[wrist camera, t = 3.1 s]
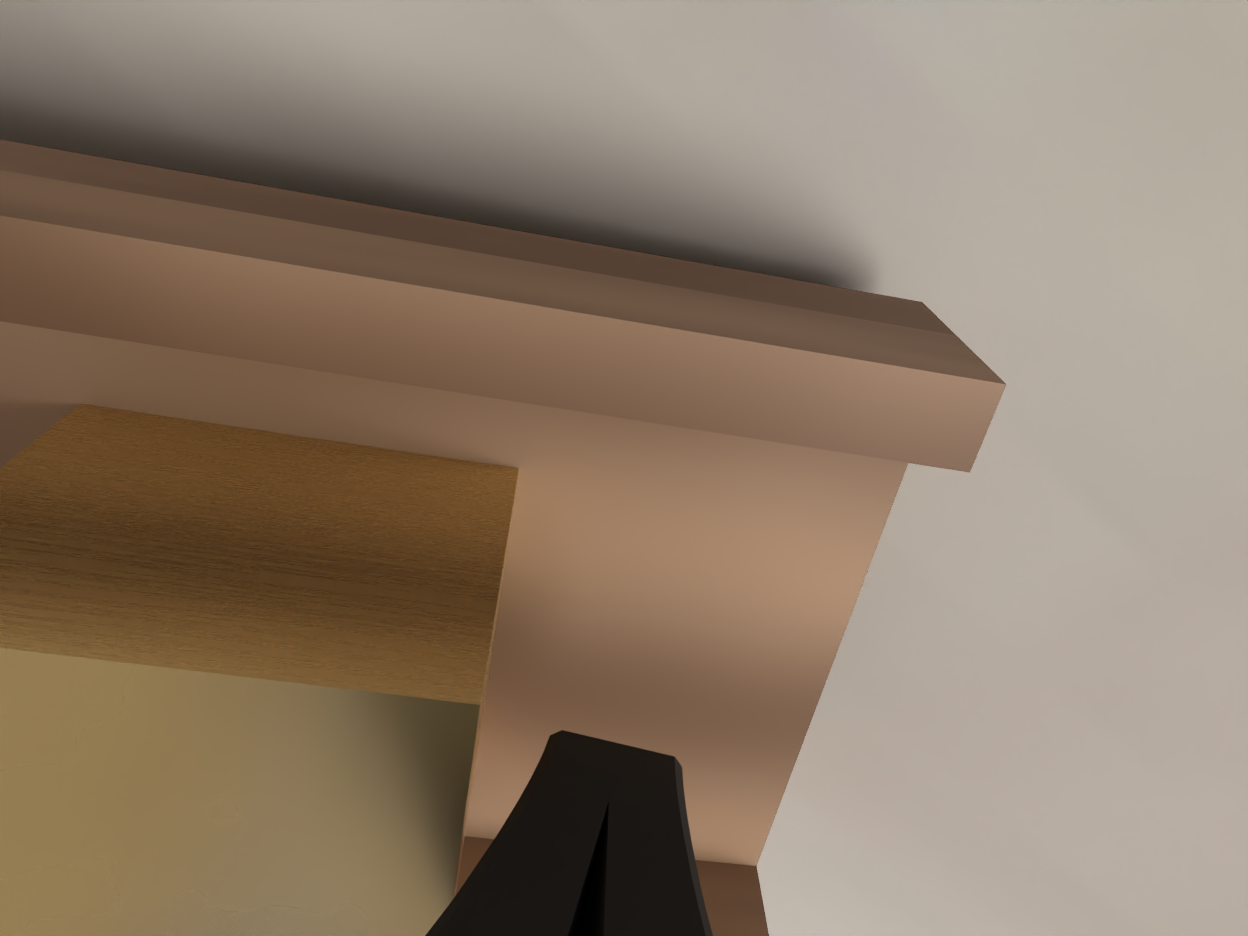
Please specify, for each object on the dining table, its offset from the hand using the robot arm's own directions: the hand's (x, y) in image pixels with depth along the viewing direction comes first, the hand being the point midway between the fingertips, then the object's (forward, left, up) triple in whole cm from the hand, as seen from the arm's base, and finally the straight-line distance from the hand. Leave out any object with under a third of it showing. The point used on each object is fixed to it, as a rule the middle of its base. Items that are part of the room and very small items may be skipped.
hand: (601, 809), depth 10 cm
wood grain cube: (0, +4, -2) cm, 5 cm away
